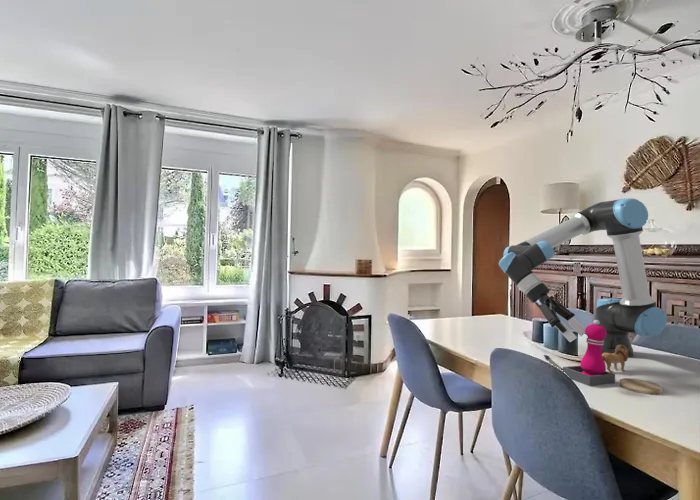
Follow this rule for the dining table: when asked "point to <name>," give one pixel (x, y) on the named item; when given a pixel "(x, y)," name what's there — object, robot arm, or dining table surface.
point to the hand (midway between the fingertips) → (579, 337)
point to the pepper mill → (594, 350)
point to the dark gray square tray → (593, 380)
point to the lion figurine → (616, 357)
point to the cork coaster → (641, 386)
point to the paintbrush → (552, 362)
